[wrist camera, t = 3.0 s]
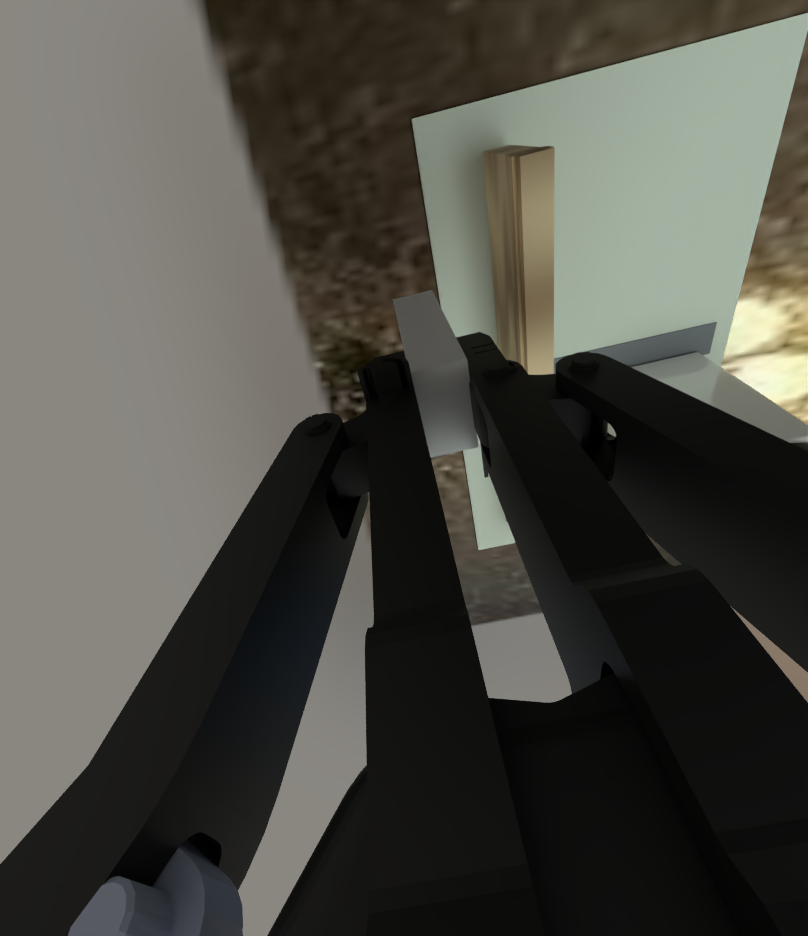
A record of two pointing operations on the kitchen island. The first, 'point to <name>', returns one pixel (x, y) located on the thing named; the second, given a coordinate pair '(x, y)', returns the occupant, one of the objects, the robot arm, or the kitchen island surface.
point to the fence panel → (523, 252)
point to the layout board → (619, 202)
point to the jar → (726, 395)
